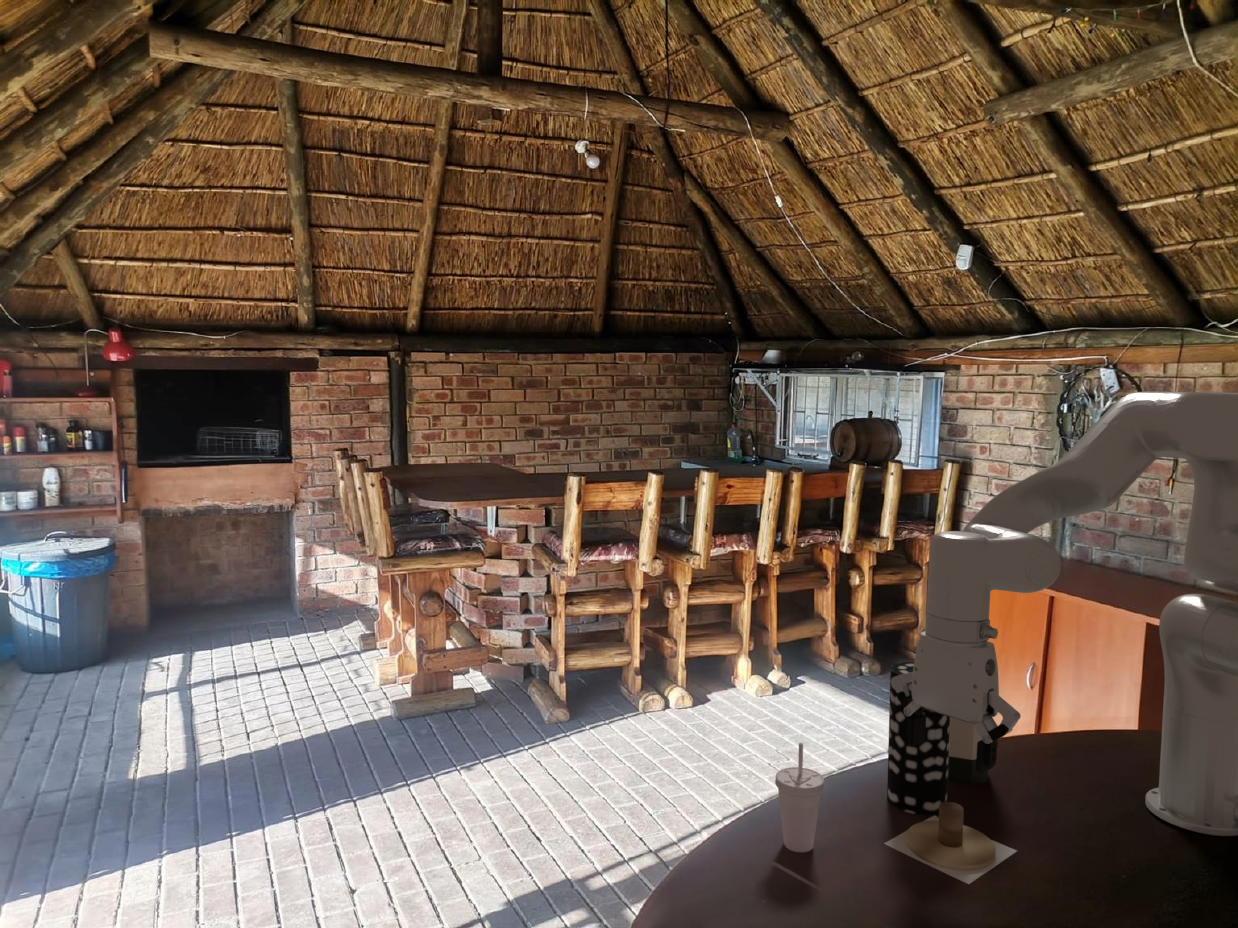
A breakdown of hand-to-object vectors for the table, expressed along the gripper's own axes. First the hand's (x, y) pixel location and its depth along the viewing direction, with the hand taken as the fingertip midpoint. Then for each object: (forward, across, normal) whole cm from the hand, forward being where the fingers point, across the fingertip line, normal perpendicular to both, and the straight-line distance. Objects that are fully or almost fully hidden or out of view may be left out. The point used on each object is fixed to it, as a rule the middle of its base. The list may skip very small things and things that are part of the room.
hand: (949, 756), depth 112 cm
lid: (+12, 0, -1) cm, 13 cm away
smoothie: (+14, +13, +14) cm, 23 cm away
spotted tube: (+13, +10, -9) cm, 18 cm away
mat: (+13, 0, -1) cm, 13 cm away
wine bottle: (+13, +11, -23) cm, 28 cm away
